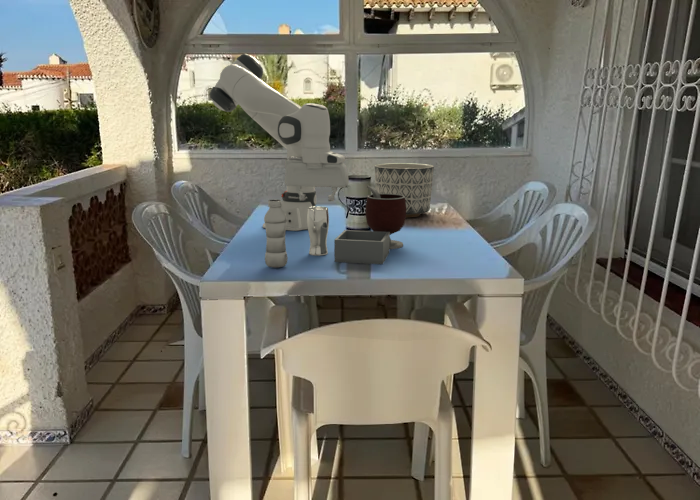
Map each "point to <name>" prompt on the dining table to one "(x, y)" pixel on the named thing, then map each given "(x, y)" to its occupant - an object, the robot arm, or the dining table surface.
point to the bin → (362, 247)
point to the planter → (407, 184)
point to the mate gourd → (386, 214)
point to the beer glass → (318, 230)
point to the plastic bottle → (275, 235)
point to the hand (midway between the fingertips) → (316, 200)
